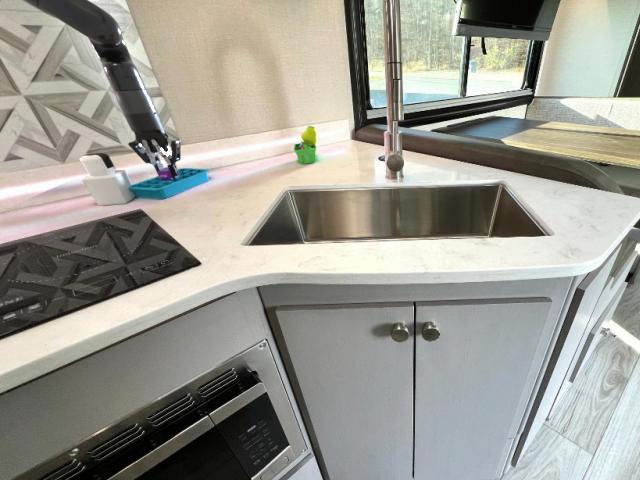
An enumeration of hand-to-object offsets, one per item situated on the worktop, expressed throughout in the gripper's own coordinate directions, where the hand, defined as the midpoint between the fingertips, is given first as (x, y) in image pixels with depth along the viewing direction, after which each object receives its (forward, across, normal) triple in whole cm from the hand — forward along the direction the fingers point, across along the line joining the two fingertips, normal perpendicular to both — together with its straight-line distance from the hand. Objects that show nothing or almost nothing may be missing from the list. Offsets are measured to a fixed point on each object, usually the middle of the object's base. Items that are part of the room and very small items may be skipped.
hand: (170, 177), depth 93 cm
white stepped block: (+3, -11, -10) cm, 15 cm away
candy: (0, 0, 0) cm, 0 cm away
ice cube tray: (+3, 0, 0) cm, 3 cm away
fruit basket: (+3, +35, +28) cm, 45 cm away
